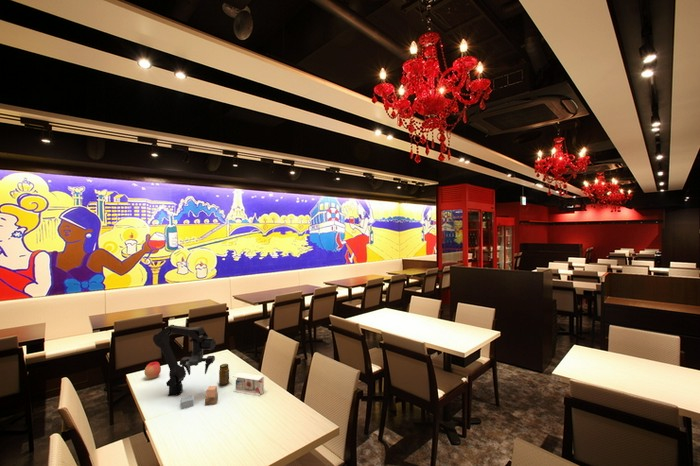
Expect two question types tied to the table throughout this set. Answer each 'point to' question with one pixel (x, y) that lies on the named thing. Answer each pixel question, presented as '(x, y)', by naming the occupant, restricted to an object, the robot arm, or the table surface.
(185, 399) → the slate block
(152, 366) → the apple
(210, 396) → the terracotta cube
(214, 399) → the walnut block
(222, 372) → the condiment
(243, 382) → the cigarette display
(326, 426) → the table surface
